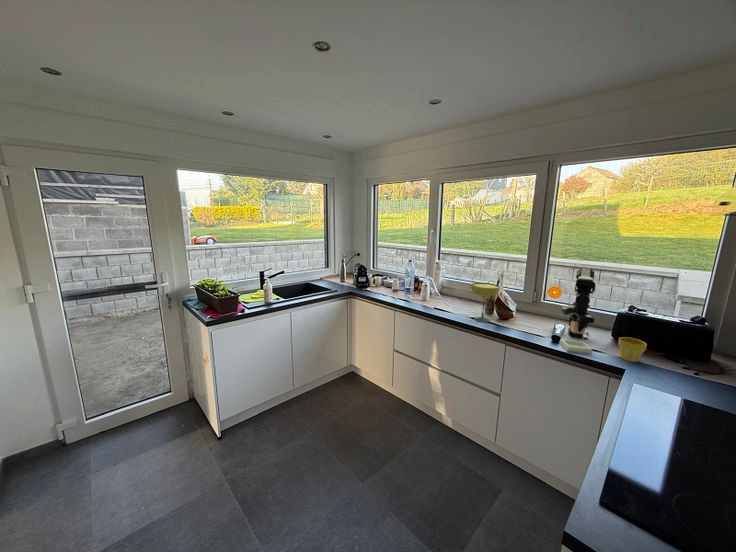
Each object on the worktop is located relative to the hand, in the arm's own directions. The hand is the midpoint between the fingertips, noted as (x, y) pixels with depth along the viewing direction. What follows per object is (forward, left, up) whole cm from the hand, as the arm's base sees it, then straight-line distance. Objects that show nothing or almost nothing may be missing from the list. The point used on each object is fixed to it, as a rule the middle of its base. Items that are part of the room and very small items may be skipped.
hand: (577, 329), depth 154 cm
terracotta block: (0, 0, -1) cm, 1 cm away
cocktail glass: (+44, -35, -11) cm, 57 cm away
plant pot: (-22, +5, -11) cm, 25 cm away
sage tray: (0, 0, -11) cm, 11 cm away
